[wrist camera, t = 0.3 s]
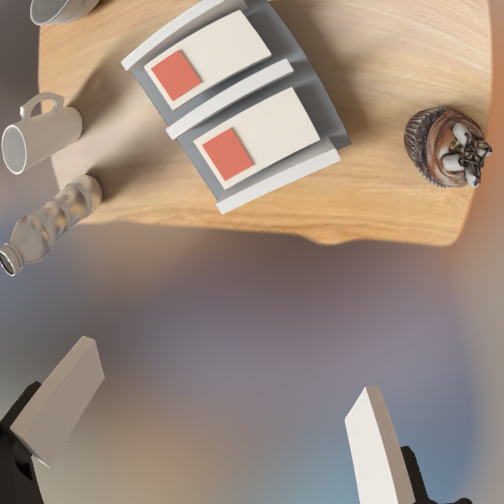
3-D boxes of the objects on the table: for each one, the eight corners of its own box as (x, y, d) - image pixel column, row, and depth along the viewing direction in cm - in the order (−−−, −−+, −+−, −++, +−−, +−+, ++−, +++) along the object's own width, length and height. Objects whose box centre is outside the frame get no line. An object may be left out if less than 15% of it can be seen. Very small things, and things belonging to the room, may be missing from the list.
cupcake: (401, 95, 24) (441, 103, 16) (462, 114, 23) (509, 131, 15) (392, 167, 30) (424, 200, 22) (451, 179, 28) (489, 213, 20)
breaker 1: (240, 14, 17) (239, 8, 16) (270, 57, 20) (271, 54, 18) (148, 68, 20) (142, 66, 18) (176, 110, 22) (172, 110, 21)
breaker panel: (263, 2, 20) (250, -29, 12) (343, 135, 29) (363, 156, 20) (152, 71, 26) (104, 73, 18) (229, 188, 35) (207, 225, 27)
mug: (80, 150, 33) (26, 180, 24) (54, 139, 33) (1, 166, 23) (92, 89, 28) (30, 104, 18) (64, 82, 27) (4, 97, 17)
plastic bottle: (112, 185, 37) (22, 264, 20) (99, 214, 40) (22, 294, 24) (85, 163, 35) (-11, 229, 19) (74, 193, 38) (-7, 262, 22)
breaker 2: (289, 87, 21) (292, 86, 20) (316, 137, 24) (320, 139, 22) (196, 139, 24) (192, 141, 22) (226, 185, 26) (224, 190, 25)
